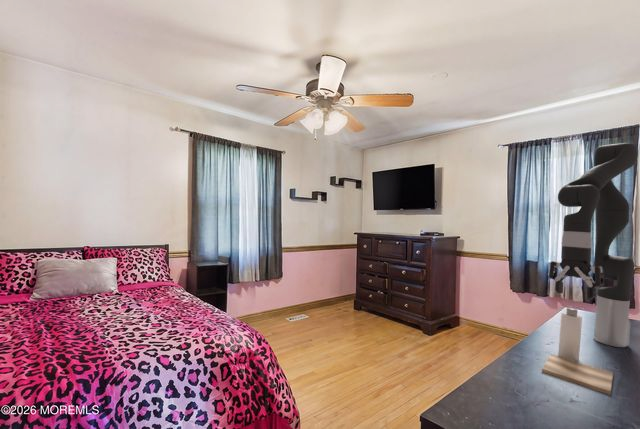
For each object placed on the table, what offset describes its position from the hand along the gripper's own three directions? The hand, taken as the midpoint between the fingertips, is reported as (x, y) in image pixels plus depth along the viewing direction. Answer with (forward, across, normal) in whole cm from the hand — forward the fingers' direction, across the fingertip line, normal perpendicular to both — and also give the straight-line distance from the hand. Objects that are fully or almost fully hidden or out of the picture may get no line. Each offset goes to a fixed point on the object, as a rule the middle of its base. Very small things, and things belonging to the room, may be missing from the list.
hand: (574, 295), depth 102 cm
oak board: (+22, -5, +8) cm, 24 cm away
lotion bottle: (+21, +2, -3) cm, 21 cm away
